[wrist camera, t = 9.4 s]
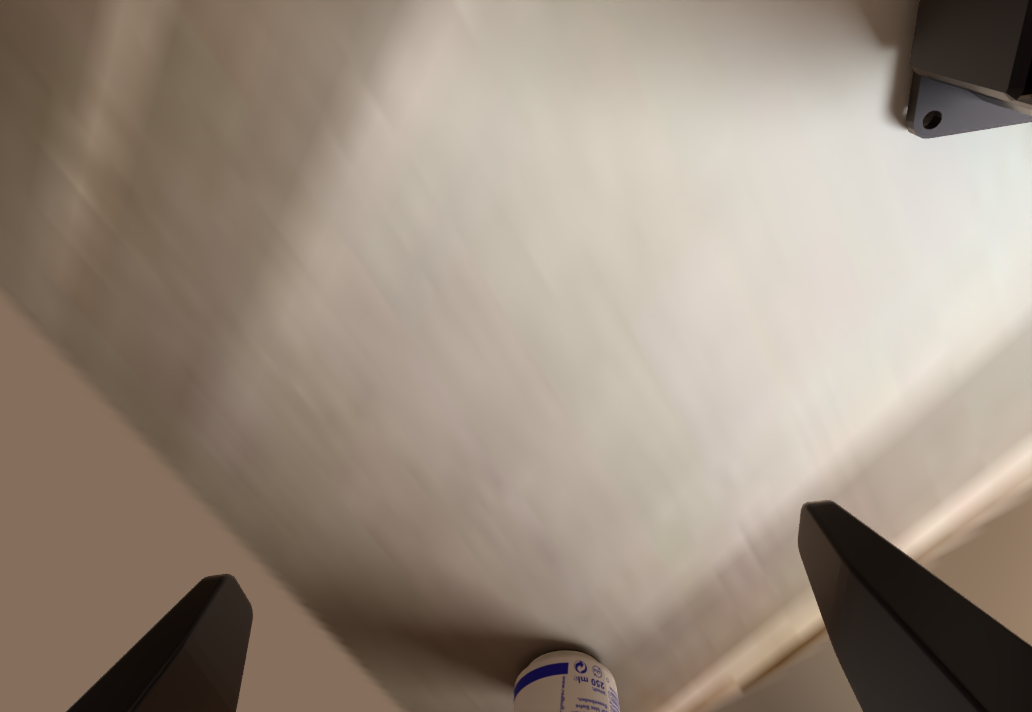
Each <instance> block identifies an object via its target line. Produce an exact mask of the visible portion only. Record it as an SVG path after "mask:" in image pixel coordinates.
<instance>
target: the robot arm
mask: <svg viewBox="0 0 1032 712" xmlns="http://www.w3.org/2000/svg"><path fill="white" fill-rule="evenodd" d="M910 67H911V68H912V69H913V70H914V72H913V79H912V85H911V91H910V97H909V104H908V110H907V116H906V127H907V129H908V131H909V132H910V133H912V134H914V135H916V136H918V137H921V138H934V137H940V136H946V135H953V134H959V133H965V132H971V131H978V130H984V129H990V128H996V127H1002V126H1009V125H1015V124H1021V123H1027V122H1032V0H920V2H919V8H918V15H917V21H916V27H915V34H914V40H913V47H912V53H911V59H910ZM931 111H933V113H934V116H933V118H932V120H931V121H930V122H929V123H928V124H927V125H925V126H923V119H924V117H925V116H926V115H927V114H928V113H929V112H931ZM798 548H799V552H800V556H801V559H802V561H803V564H804V567H805V570H806V573H807V576H808V578H809V581H810V584H811V587H812V590H813V593H814V595H815V598H816V601H817V604H818V607H819V610H820V612H821V615H822V618H823V621H824V624H825V627H826V629H827V632H828V635H829V638H830V640H831V643H832V646H833V648H834V651H835V653H836V656H837V658H838V660H839V662H840V664H841V667H842V669H843V671H844V673H845V675H846V677H847V679H848V681H849V683H850V685H851V688H852V689H853V692H854V694H855V696H856V698H857V700H858V702H859V704H860V706H861V708H862V710H863V712H1032V646H1031V645H1030V644H1028V643H1027V642H1026V641H1024V640H1023V639H1022V638H1020V637H1019V636H1017V635H1016V634H1015V633H1013V632H1012V631H1011V630H1009V629H1008V628H1007V627H1005V626H1004V625H1002V624H1001V623H1000V622H998V621H997V620H996V619H994V618H993V617H991V616H990V615H989V614H987V613H986V612H985V611H983V610H982V609H981V608H979V607H978V606H976V605H975V604H974V603H972V602H971V601H970V600H968V599H967V598H965V597H964V596H963V595H961V594H960V593H958V592H957V591H956V590H955V589H953V588H952V587H950V586H949V585H948V584H946V583H945V582H943V581H942V580H941V579H939V578H938V577H937V576H935V575H934V574H933V573H931V572H930V571H929V570H927V569H926V568H924V567H923V566H922V565H920V564H919V563H918V562H916V561H915V560H913V559H912V558H911V557H909V556H908V555H907V554H905V553H904V552H903V551H901V550H900V549H898V548H897V547H896V546H894V545H893V544H892V543H890V542H889V541H887V540H886V539H885V538H883V537H882V536H881V535H879V534H878V533H877V532H875V531H874V530H872V529H871V528H870V527H868V526H867V525H866V524H864V523H863V522H861V521H860V520H859V519H857V518H856V517H855V516H853V515H852V514H851V513H849V512H848V511H846V510H845V509H844V508H842V507H841V506H840V505H838V504H837V503H835V502H833V501H831V500H822V501H814V502H807V503H805V504H803V506H802V508H801V514H800V523H799V533H798ZM252 619H253V613H252V607H251V604H250V602H249V600H248V599H247V597H246V595H245V594H244V592H243V590H242V589H241V587H240V585H239V584H238V582H237V580H236V579H235V577H234V576H232V575H230V574H222V575H214V576H208V577H205V578H204V579H202V580H201V581H200V582H199V583H198V584H197V585H196V586H195V587H194V588H192V589H191V590H190V591H189V592H188V593H187V594H186V595H185V596H184V597H183V598H182V599H181V600H180V601H179V602H178V603H177V604H176V605H175V606H174V607H173V608H172V609H171V610H170V611H169V612H168V613H167V614H166V615H165V616H164V617H163V618H162V619H161V620H160V621H159V622H158V623H157V624H156V625H155V626H154V627H152V628H151V630H149V631H148V632H147V633H146V635H144V636H143V637H142V638H141V639H140V640H139V641H138V642H137V643H136V644H135V645H134V646H133V647H132V648H131V649H130V650H129V651H128V652H127V653H126V654H125V655H124V656H123V657H122V658H121V659H120V660H119V661H118V662H117V663H116V664H115V665H114V666H112V667H111V668H110V669H109V670H108V671H107V672H106V674H104V675H103V676H102V677H101V678H100V679H99V680H98V681H97V682H96V683H95V684H94V685H93V686H92V687H91V688H90V689H89V690H88V691H87V692H86V693H85V694H84V695H83V696H82V697H81V698H80V699H79V700H78V701H77V702H76V703H75V704H74V705H73V706H71V707H70V708H69V709H68V710H67V711H66V712H236V708H237V703H238V698H239V692H240V687H241V681H242V675H243V670H244V665H245V659H246V653H247V648H248V642H249V636H250V631H251V625H252Z"/></svg>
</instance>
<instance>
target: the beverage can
mask: <svg viewBox="0 0 1032 712" xmlns="http://www.w3.org/2000/svg"><path fill="white" fill-rule="evenodd" d="M514 712H620V707H619V700H618V694H617V688H616V684H615V680H614V677H613V675H612V674H611V673H610V671H609V670H608V669H607V668H606V667H605V666H604V665H602V664H601V663H599V662H597V661H596V660H595V659H594V658H593V657H591V656H589V655H587V654H585V653H582V652H578V651H569V650H563V651H554V652H550V653H546V654H544V655H541V656H539V657H538V658H536V659H535V660H533V661H532V662H531V663H530V664H529V666H528V667H527V668H525V669H524V670H523V671H522V672H521V673H520V675H519V676H518V678H517V680H516V682H515V686H514Z"/></svg>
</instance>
